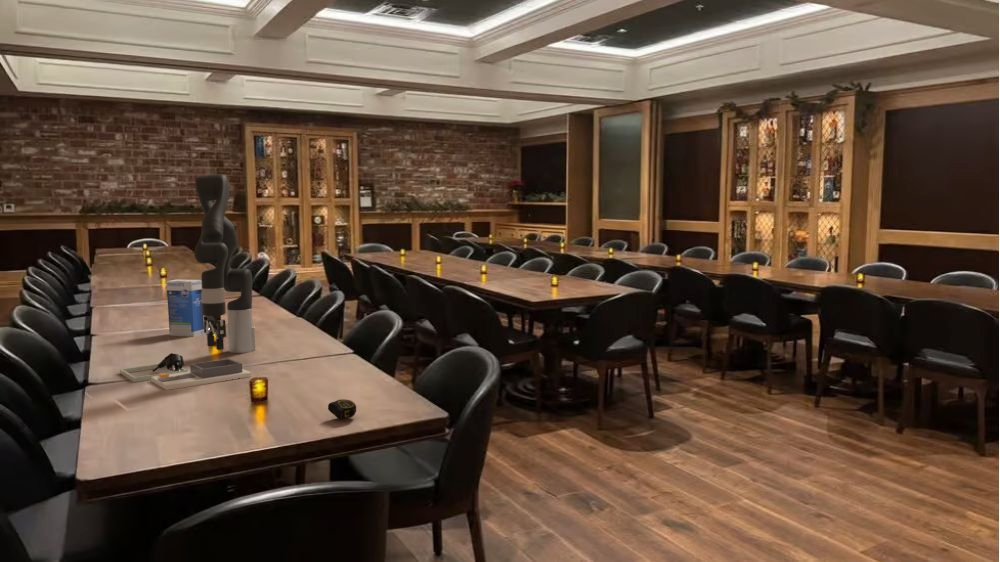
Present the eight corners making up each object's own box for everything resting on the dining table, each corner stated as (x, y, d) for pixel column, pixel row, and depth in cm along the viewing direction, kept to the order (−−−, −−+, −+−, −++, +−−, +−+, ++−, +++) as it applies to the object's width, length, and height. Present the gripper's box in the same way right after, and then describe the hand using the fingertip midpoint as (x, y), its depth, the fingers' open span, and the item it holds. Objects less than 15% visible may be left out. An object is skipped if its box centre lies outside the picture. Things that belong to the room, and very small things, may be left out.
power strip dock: (233, 368, 265) (233, 356, 265) (251, 376, 253) (250, 363, 253) (151, 381, 247) (150, 368, 247) (166, 390, 235) (165, 376, 235)
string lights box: (204, 336, 332) (202, 279, 329) (193, 339, 324) (191, 281, 322) (180, 335, 335) (177, 279, 333) (168, 338, 328) (165, 280, 325)
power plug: (158, 371, 263) (185, 353, 262) (162, 388, 259) (189, 369, 258) (146, 366, 259) (173, 347, 258) (150, 383, 254) (177, 364, 253)
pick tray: (172, 366, 270) (171, 362, 270) (188, 374, 257) (188, 370, 257) (119, 373, 259) (119, 369, 259) (133, 382, 246) (133, 377, 245)
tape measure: (326, 412, 205) (327, 400, 204) (348, 409, 209) (349, 397, 209) (337, 423, 200) (338, 410, 199) (359, 419, 204) (360, 406, 203)
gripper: (232, 302, 248) (234, 349, 250) (216, 298, 259) (218, 343, 260) (209, 304, 243) (211, 352, 245) (195, 300, 254) (197, 346, 255)
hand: (215, 347), depth 252 cm, fingers open, 8 cm apart
